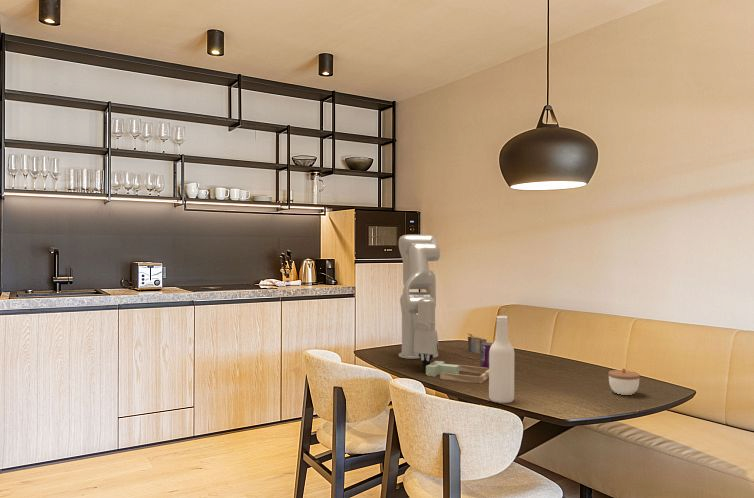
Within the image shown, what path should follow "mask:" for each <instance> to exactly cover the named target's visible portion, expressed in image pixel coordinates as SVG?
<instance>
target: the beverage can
mask: <svg viewBox="0 0 754 498" xmlns="http://www.w3.org/2000/svg"><path fill="white" fill-rule="evenodd" d="M493 343H494V342H487V343H481V347H480V354H479V360H480V361H479V367H485V368H489V351H490V347H491V345H492V344H493Z"/></svg>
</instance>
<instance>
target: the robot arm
mask: <svg viewBox="0 0 754 498" xmlns="http://www.w3.org/2000/svg"><path fill="white" fill-rule="evenodd" d="M398 249H399V253H400V256H401V259H402V281H403V283H402V284H403V287H402V294H401V296H400V298H399V303H400V309H401V352H399V353H398V357H399V358H402V359H407V360H408V359H409V360H410V359H411V360H413V359H415V360H416V359H420V360H421V362H422V369H423V371H426V366H427V365H429V364H431V360H432V359H433V358H437V357H439V337H438V332H437V330H436V305H437V289H436V288H437V285H436V284H437V283H436V281H437V280H436V275H435V273H434V271H432V270H430V268H429V262H437V261H439V260H440V258H441V249H440V246H439V243H438V241H437V239H436V237H435V236H434V235H432V234H403V235H402V236H400V237H399V239H398ZM410 290H425V291H410Z"/></svg>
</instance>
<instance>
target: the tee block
mask: <svg viewBox="0 0 754 498" xmlns="http://www.w3.org/2000/svg"><path fill="white" fill-rule="evenodd" d="M459 365H460V364H455V365H454V364H450V363H445V361H441V360H440V361H439V360H434V361H433V362H430V364H429V365H427V366H426V370H425V376H426V375H427V376H426V377H437V376H438V375H439V376H440V373H441V372H442V373H451V374H460V371H459Z"/></svg>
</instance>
